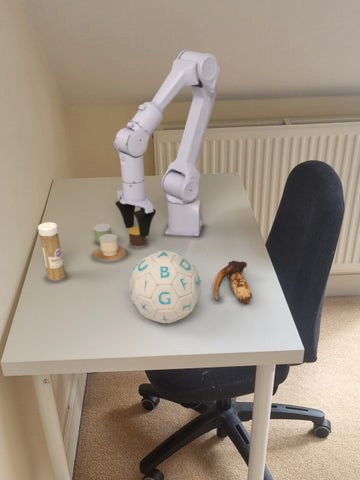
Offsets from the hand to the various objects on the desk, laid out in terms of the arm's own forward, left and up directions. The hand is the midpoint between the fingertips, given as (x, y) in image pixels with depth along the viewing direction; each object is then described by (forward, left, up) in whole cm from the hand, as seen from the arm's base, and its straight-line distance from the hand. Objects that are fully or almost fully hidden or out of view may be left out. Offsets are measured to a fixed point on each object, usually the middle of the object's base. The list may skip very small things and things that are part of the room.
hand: (137, 231), depth 157 cm
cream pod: (+6, +7, -3) cm, 10 cm away
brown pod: (0, 0, -4) cm, 4 cm away
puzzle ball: (-15, +37, -4) cm, 40 cm away
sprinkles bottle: (+16, +21, -4) cm, 27 cm away
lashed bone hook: (-28, +23, -4) cm, 36 cm away
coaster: (+6, +7, -4) cm, 10 cm away
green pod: (+10, -1, -4) cm, 11 cm away
